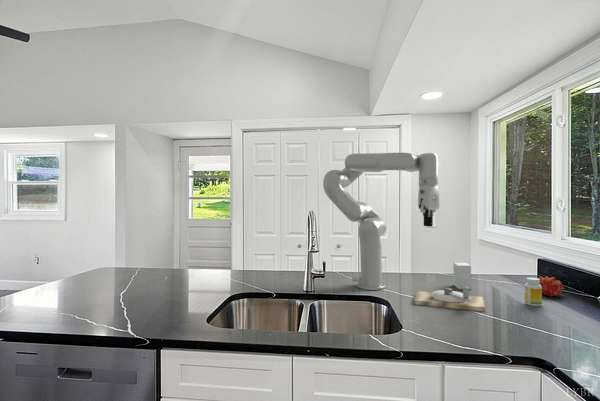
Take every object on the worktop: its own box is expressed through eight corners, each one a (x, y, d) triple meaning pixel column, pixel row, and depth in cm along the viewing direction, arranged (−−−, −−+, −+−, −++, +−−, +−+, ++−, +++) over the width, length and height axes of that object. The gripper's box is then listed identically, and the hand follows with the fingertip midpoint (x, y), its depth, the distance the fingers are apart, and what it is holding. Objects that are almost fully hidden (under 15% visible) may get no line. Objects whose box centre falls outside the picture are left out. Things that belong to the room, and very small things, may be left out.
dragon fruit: (530, 298, 142) (561, 303, 141) (542, 290, 135) (574, 295, 134) (525, 279, 147) (555, 283, 146) (537, 270, 140) (568, 275, 139)
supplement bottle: (521, 303, 131) (521, 278, 131) (530, 301, 133) (529, 276, 133) (536, 307, 126) (536, 280, 126) (545, 305, 129) (544, 279, 129)
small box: (471, 289, 152) (471, 265, 152) (457, 289, 153) (457, 265, 153) (466, 285, 160) (466, 262, 160) (453, 284, 161) (453, 262, 161)
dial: (425, 295, 138) (425, 279, 138) (451, 292, 141) (451, 276, 141) (453, 307, 122) (453, 289, 122) (482, 304, 125) (481, 286, 125)
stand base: (413, 304, 133) (413, 299, 133) (417, 294, 145) (417, 290, 145) (484, 311, 122) (484, 306, 122) (482, 300, 135) (482, 296, 135)
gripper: (427, 182, 139) (427, 227, 139) (445, 183, 149) (445, 225, 149) (410, 182, 144) (410, 226, 145) (428, 183, 154) (428, 224, 155)
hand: (428, 226), depth 147 cm, fingers closed
